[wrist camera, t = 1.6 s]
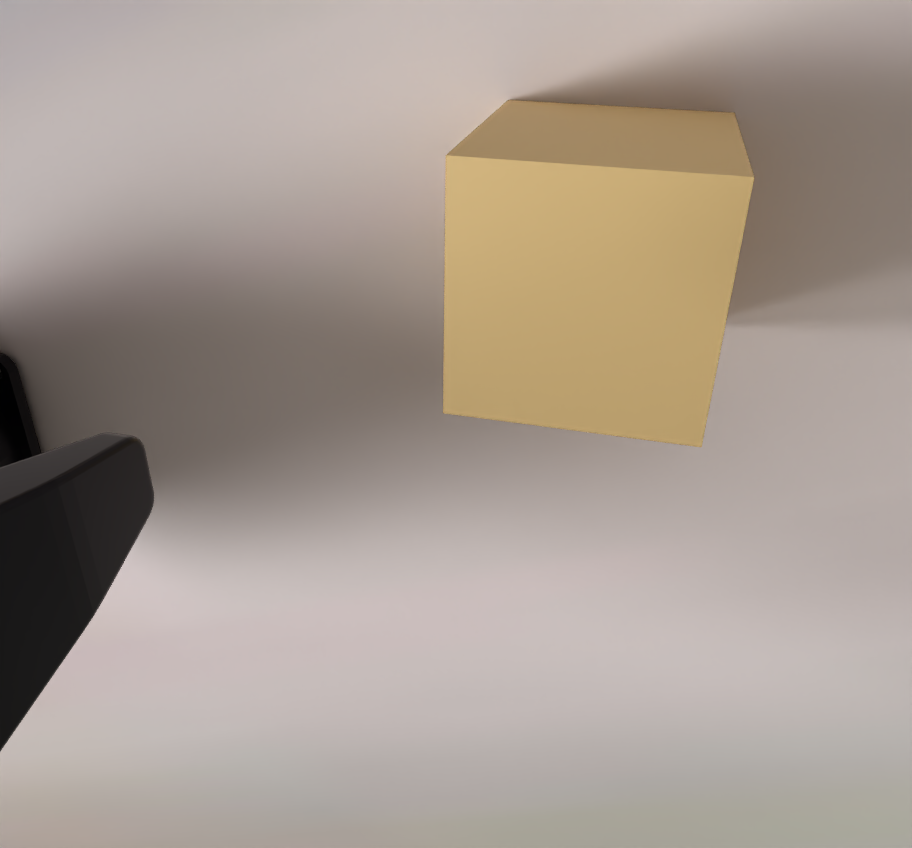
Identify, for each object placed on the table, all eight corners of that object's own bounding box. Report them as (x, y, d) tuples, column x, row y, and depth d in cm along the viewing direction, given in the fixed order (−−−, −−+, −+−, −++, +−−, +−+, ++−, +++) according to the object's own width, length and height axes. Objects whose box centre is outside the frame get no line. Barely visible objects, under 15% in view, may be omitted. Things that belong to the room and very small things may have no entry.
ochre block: (696, 323, 21) (701, 446, 16) (499, 303, 22) (442, 413, 16) (733, 112, 18) (754, 177, 13) (508, 99, 19) (445, 155, 14)
